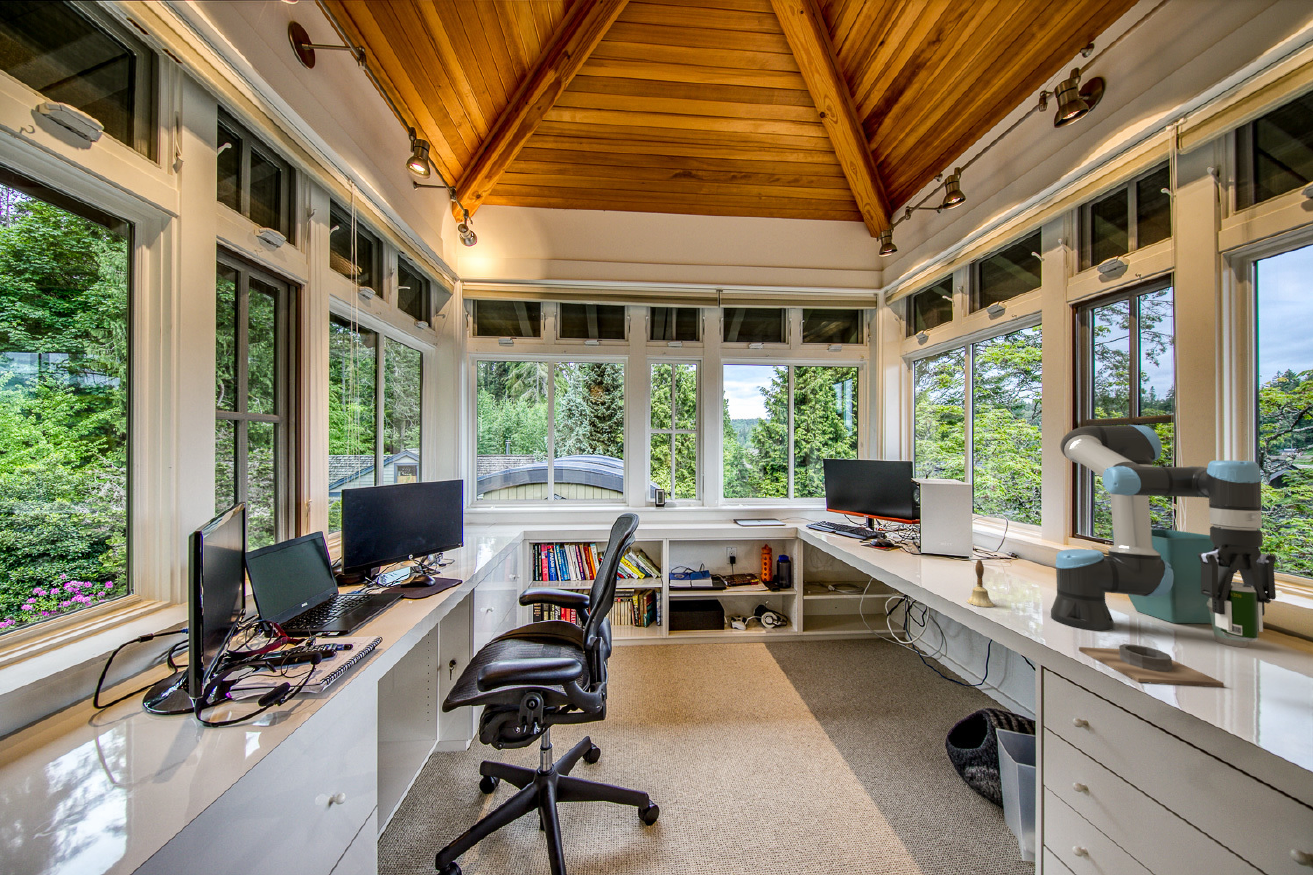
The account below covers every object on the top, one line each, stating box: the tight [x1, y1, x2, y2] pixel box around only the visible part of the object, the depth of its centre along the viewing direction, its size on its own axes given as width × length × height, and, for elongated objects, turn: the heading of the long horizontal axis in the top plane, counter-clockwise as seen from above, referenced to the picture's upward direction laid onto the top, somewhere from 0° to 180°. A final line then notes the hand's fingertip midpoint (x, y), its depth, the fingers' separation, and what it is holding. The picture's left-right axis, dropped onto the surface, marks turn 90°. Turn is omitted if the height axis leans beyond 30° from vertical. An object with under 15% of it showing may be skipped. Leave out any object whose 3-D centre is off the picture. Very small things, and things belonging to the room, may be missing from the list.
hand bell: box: [966, 559, 995, 608], centre depth 168 cm, size 8×8×16 cm
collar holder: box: [1078, 643, 1225, 688], centre depth 118 cm, size 18×18×4 cm
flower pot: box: [1110, 528, 1229, 624], centre depth 155 cm, size 20×20×28 cm
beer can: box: [1221, 581, 1259, 642], centre depth 105 cm, size 5×5×12 cm
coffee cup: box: [1206, 598, 1249, 648], centre depth 133 cm, size 8×8×12 cm
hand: (1238, 628), depth 105 cm, fingers closed on beer can, 5 cm apart
